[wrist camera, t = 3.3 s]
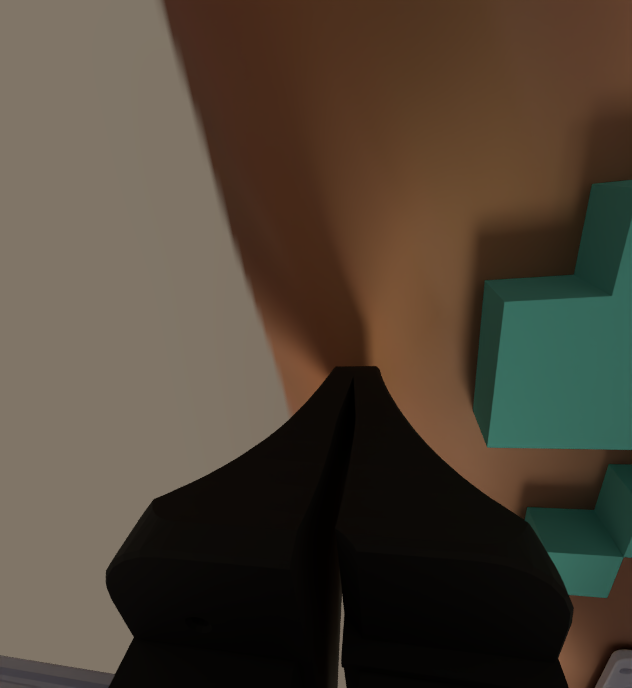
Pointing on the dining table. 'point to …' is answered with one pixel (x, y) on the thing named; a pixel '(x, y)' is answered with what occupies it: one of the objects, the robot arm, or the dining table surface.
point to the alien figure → (569, 384)
